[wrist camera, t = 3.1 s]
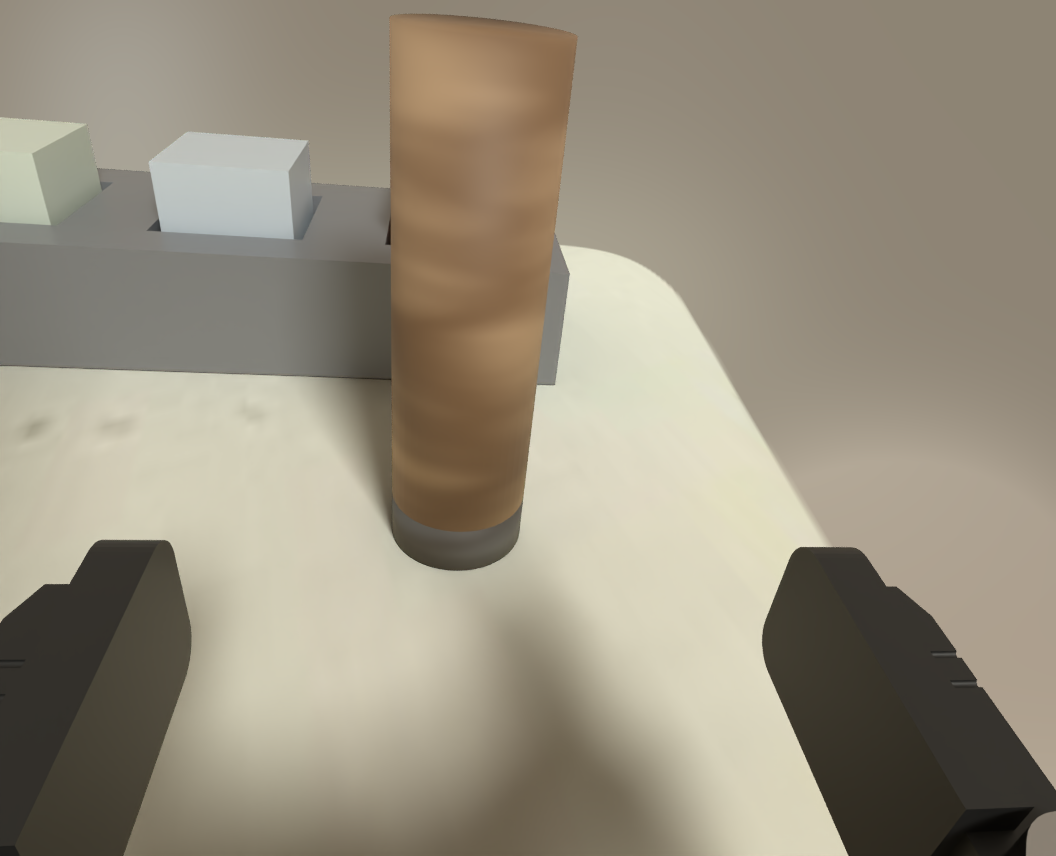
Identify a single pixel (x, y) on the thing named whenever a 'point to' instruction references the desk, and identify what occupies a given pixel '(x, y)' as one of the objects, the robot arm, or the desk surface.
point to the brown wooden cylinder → (469, 271)
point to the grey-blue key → (234, 186)
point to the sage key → (45, 170)
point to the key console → (213, 290)
